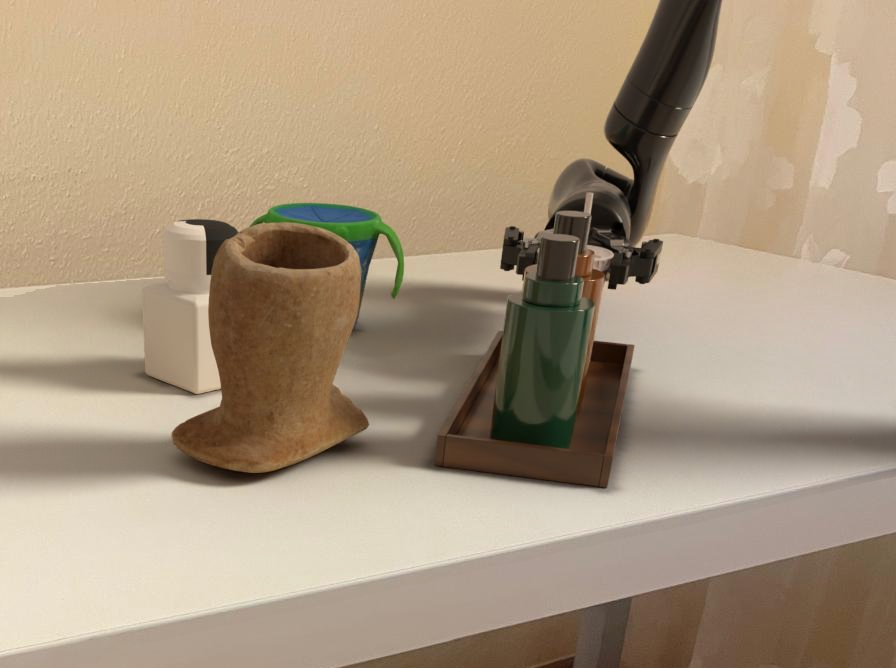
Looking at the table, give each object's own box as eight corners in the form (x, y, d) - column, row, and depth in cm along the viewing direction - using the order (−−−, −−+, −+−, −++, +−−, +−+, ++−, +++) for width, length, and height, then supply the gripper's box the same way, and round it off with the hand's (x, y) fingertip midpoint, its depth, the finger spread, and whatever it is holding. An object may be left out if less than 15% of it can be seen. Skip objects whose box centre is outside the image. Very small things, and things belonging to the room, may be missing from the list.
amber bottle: (597, 407, 96) (631, 216, 88) (551, 421, 93) (582, 224, 84) (538, 389, 99) (566, 204, 91) (491, 402, 96) (516, 211, 88)
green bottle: (587, 446, 88) (624, 240, 80) (536, 463, 85) (569, 249, 77) (523, 425, 92) (552, 225, 83) (472, 440, 88) (497, 234, 80)
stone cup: (277, 503, 78) (283, 257, 70) (149, 458, 84) (141, 226, 76) (410, 448, 88) (430, 226, 79) (287, 411, 94) (294, 201, 85)
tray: (495, 355, 110) (498, 330, 109) (629, 369, 107) (634, 344, 106) (434, 465, 85) (437, 435, 84) (607, 488, 83) (613, 456, 82)
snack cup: (411, 324, 118) (421, 211, 112) (379, 349, 110) (387, 229, 104) (265, 305, 122) (267, 195, 117) (223, 328, 114) (223, 211, 108)
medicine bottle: (209, 361, 105) (207, 211, 98) (262, 380, 101) (265, 225, 94) (143, 375, 101) (137, 219, 94) (196, 395, 97) (194, 234, 90)
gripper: (515, 184, 110) (489, 213, 96) (675, 197, 107) (671, 229, 94) (504, 271, 114) (477, 311, 101) (658, 286, 111) (651, 329, 98)
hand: (570, 271), depth 97 cm, fingers closed on smoothie, 6 cm apart
